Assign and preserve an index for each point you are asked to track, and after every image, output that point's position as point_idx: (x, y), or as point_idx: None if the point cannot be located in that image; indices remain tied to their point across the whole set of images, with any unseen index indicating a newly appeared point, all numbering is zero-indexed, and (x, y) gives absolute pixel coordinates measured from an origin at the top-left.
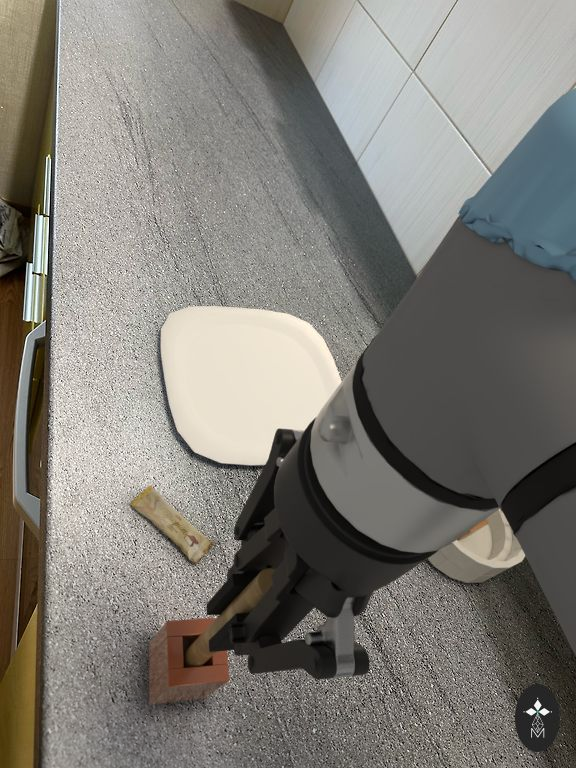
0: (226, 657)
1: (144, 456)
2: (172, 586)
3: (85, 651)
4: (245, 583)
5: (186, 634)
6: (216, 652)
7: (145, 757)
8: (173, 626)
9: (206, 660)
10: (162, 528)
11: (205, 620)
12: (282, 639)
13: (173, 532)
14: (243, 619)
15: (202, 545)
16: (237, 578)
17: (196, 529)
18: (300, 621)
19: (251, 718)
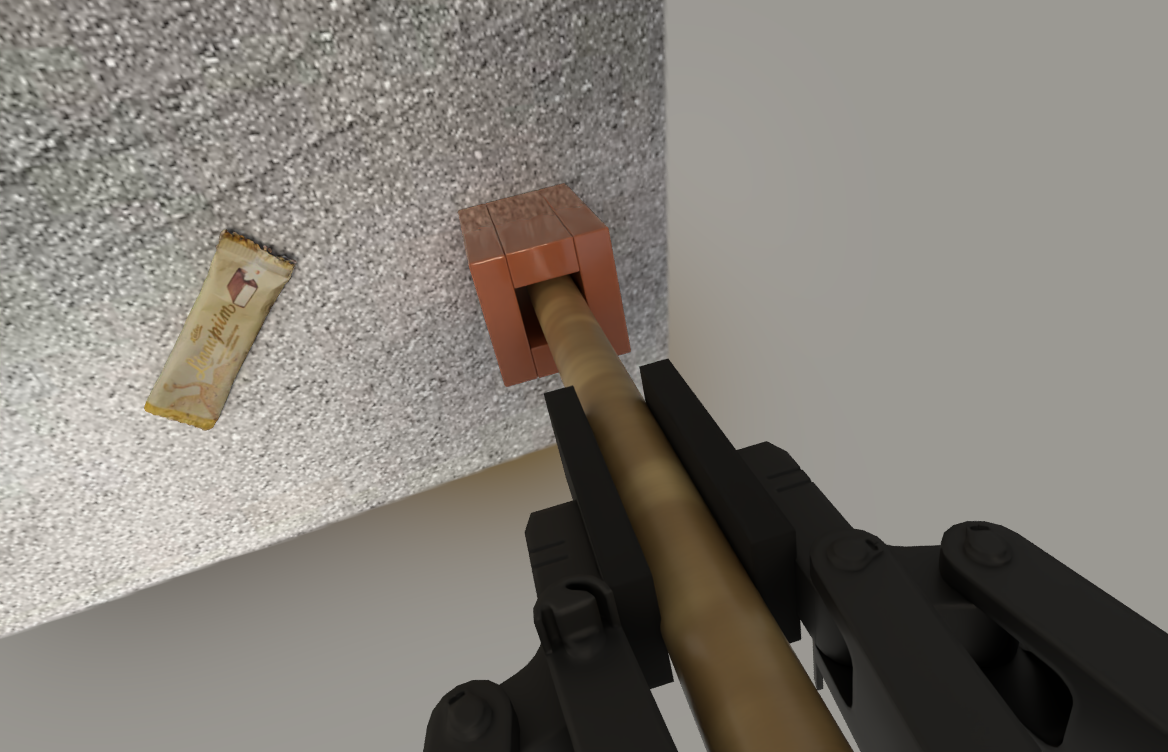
0: (559, 243)
1: (65, 430)
2: (361, 293)
3: (519, 405)
4: (662, 655)
5: (525, 342)
6: (601, 330)
7: (662, 269)
8: (514, 371)
9: (591, 311)
10: (241, 356)
11: (486, 308)
12: (888, 550)
13: (241, 333)
14: (782, 630)
15: (240, 255)
16: (648, 679)
17: (206, 283)
18: (1026, 730)
19: (590, 68)
